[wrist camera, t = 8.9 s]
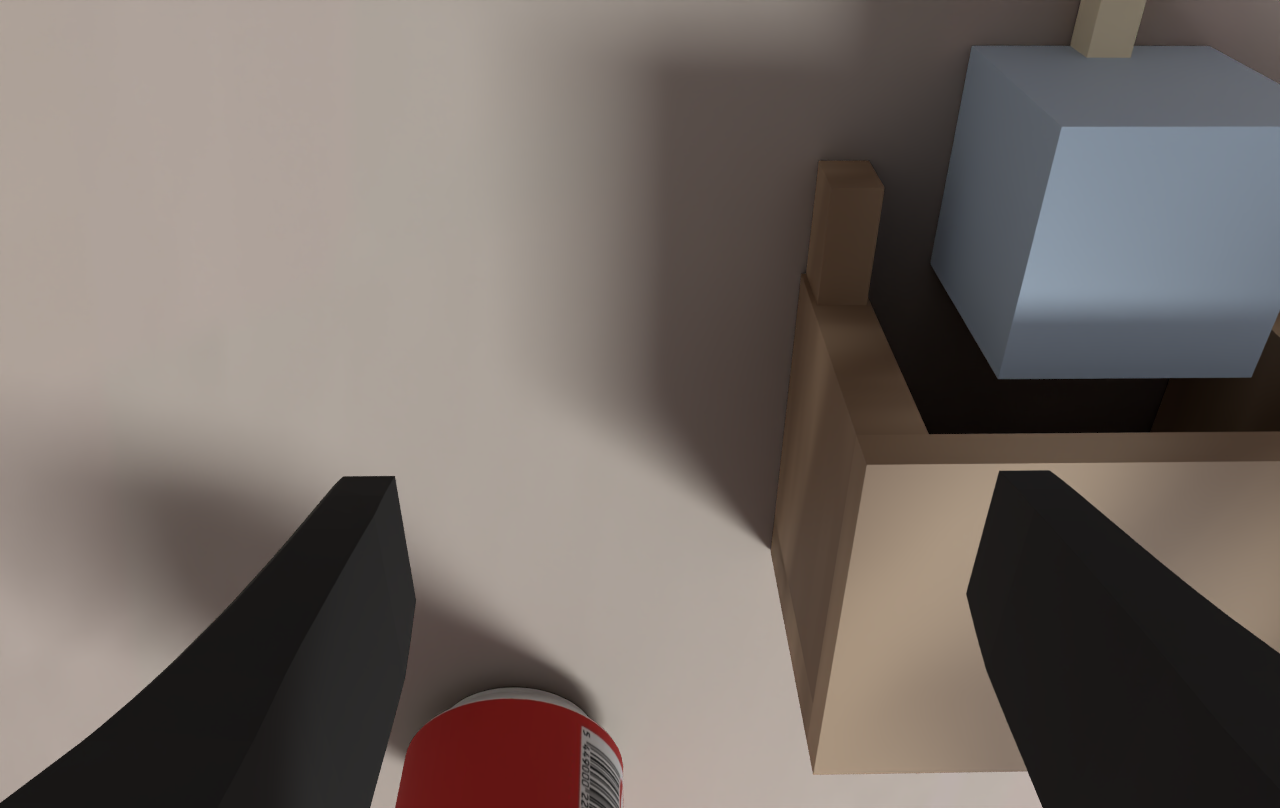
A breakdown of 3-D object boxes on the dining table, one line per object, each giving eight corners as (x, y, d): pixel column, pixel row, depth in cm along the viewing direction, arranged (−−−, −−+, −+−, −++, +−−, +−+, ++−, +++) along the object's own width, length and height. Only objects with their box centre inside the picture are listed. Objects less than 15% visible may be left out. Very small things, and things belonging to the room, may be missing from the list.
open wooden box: (1309, 159, 20) (1569, 323, 15) (1152, 547, 26) (1296, 766, 20) (813, 160, 20) (890, 327, 14) (770, 551, 26) (813, 774, 20)
